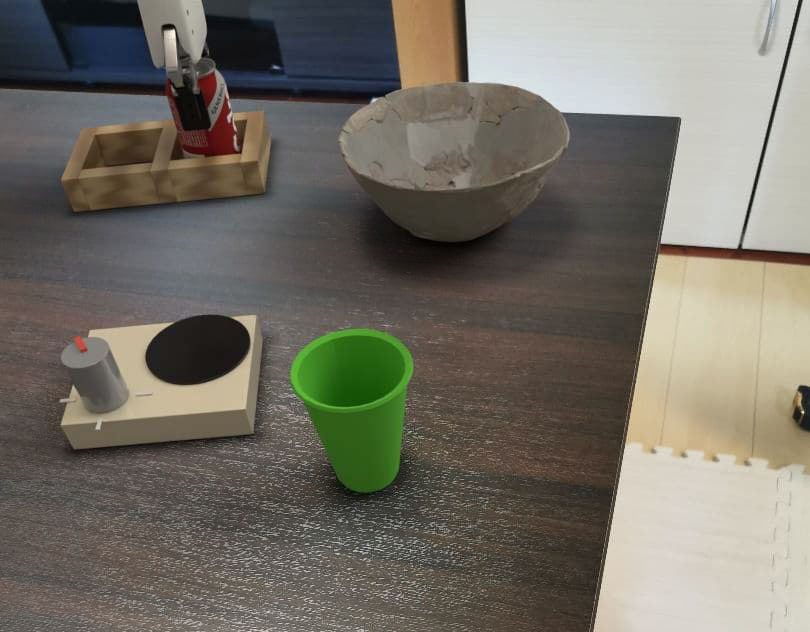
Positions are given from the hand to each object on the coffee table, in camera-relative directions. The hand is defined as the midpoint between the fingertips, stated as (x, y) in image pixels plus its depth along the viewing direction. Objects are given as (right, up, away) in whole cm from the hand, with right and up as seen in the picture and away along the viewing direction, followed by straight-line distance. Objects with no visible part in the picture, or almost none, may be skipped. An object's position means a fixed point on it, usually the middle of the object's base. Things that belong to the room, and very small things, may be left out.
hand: (201, 110), depth 97 cm
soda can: (+1, -5, +6) cm, 8 cm away
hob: (+2, -36, -19) cm, 41 cm away
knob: (-3, -37, -24) cm, 44 cm away
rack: (-5, -5, +6) cm, 9 cm away
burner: (+5, -32, -20) cm, 38 cm away
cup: (+20, -44, -27) cm, 55 cm away
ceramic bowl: (+29, -15, -5) cm, 33 cm away
